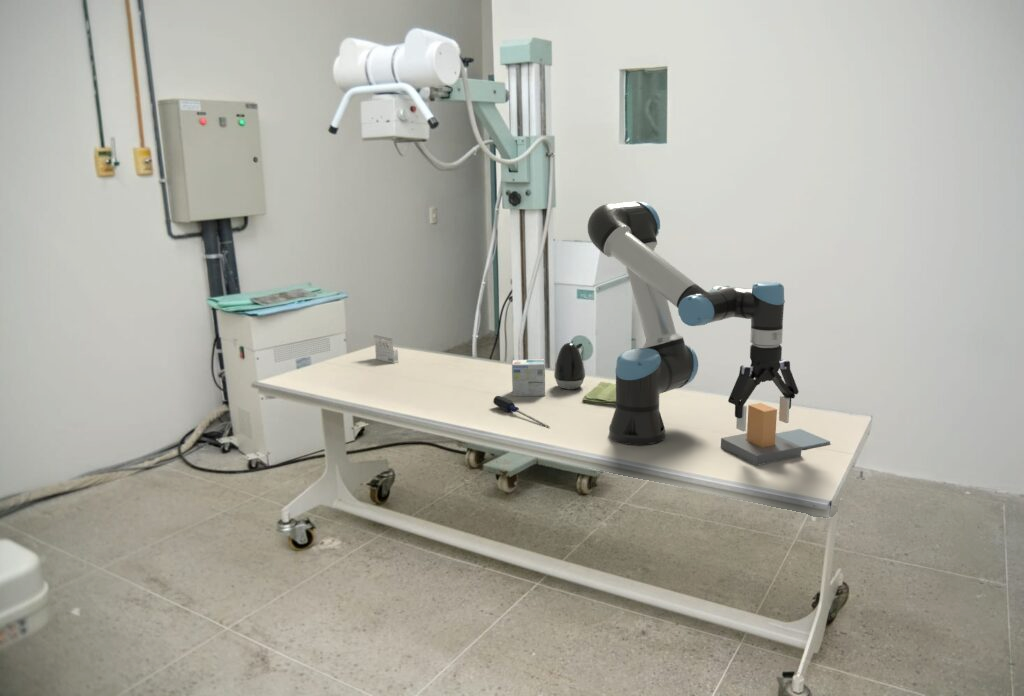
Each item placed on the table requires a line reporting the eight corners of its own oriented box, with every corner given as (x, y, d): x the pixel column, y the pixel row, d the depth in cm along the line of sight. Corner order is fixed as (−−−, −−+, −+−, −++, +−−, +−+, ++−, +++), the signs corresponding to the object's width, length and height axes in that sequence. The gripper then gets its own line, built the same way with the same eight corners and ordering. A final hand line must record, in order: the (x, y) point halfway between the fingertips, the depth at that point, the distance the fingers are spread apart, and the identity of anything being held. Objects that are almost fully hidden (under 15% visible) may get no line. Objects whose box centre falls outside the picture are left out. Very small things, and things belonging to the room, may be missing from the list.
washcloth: (580, 404, 246) (580, 394, 246) (599, 389, 262) (599, 379, 261) (620, 409, 241) (620, 399, 240) (637, 393, 256) (637, 383, 255)
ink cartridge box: (380, 358, 308) (378, 333, 305) (398, 362, 300) (397, 337, 298) (375, 359, 306) (373, 334, 304) (393, 363, 299) (392, 338, 296)
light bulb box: (545, 390, 261) (544, 358, 258) (545, 396, 254) (545, 363, 251) (512, 390, 261) (512, 359, 258) (512, 396, 254) (511, 364, 252)
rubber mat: (797, 450, 203) (797, 448, 203) (768, 437, 213) (768, 434, 213) (830, 443, 208) (830, 441, 207) (800, 430, 217) (800, 428, 217)
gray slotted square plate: (756, 465, 194) (756, 455, 194) (720, 447, 207) (721, 438, 206) (800, 456, 199) (801, 446, 199) (763, 438, 212) (763, 429, 211)
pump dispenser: (591, 387, 262) (591, 343, 258) (567, 393, 256) (567, 348, 253) (572, 381, 270) (572, 337, 266) (548, 386, 264) (547, 342, 261)
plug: (761, 456, 200) (764, 411, 197) (746, 449, 205) (748, 405, 202) (774, 454, 201) (777, 409, 198) (758, 446, 207) (760, 402, 204)
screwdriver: (554, 427, 225) (554, 414, 224) (544, 429, 223) (544, 417, 222) (500, 405, 246) (500, 394, 245) (491, 408, 244) (491, 396, 243)
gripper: (735, 353, 188) (732, 437, 193) (816, 341, 198) (811, 422, 203) (715, 347, 195) (713, 428, 200) (794, 336, 204) (790, 414, 209)
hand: (762, 425), depth 201 cm, fingers open, 13 cm apart
